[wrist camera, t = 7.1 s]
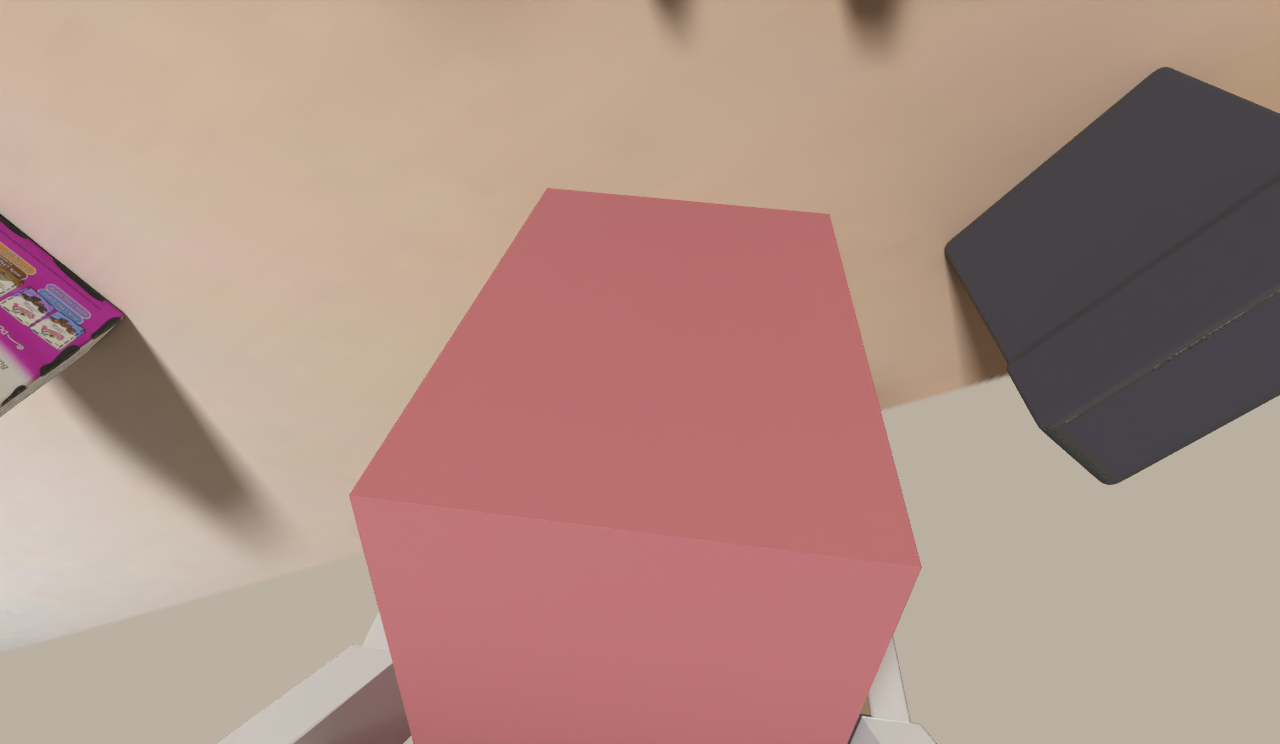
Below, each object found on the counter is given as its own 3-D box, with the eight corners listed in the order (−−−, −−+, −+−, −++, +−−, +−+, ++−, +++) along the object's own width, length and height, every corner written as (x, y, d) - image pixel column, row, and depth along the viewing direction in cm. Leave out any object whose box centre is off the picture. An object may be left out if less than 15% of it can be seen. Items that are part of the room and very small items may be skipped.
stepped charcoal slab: (988, 291, 36) (1120, 504, 23) (932, 239, 34) (1040, 434, 22) (1211, 122, 30) (1536, 283, 18) (1153, 52, 29) (1460, 174, 17)
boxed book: (829, 214, 11) (922, 567, 5) (738, 637, 17) (735, 1007, 12) (546, 187, 11) (349, 495, 6) (558, 613, 18) (469, 961, 12)
